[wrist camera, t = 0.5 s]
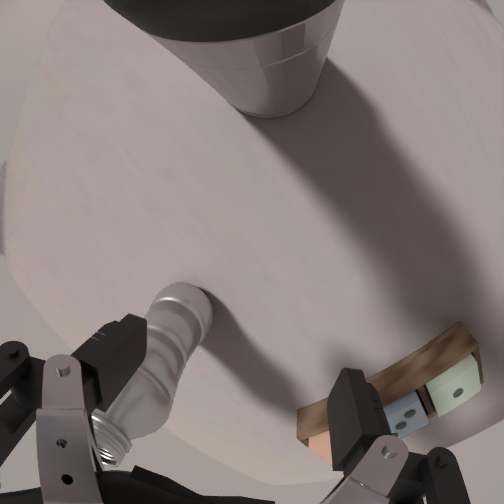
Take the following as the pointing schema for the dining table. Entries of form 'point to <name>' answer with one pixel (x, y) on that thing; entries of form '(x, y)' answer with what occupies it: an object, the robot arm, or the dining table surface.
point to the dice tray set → (403, 378)
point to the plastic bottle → (155, 370)
